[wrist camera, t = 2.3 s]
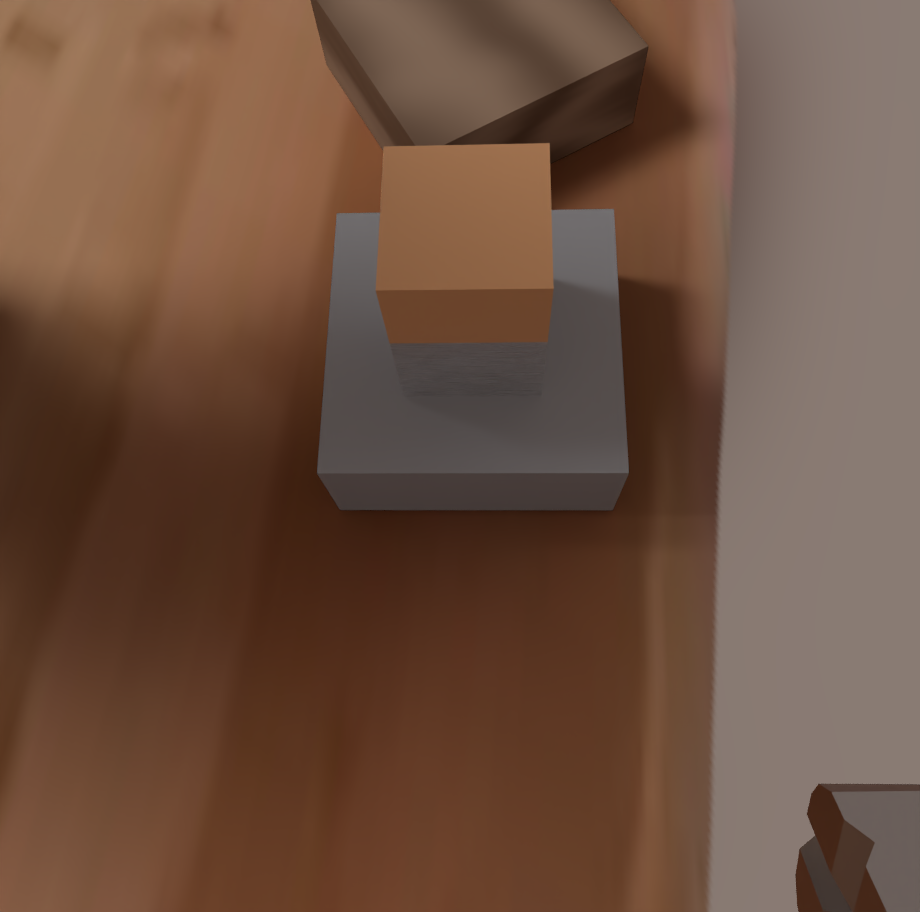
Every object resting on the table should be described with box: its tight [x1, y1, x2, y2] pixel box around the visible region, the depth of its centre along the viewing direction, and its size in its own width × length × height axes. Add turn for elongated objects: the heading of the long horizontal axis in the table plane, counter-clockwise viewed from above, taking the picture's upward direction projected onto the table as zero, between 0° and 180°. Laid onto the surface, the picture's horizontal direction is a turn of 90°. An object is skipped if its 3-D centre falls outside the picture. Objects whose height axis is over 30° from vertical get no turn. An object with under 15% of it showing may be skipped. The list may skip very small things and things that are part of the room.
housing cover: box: [376, 143, 554, 343], centre depth 29 cm, size 6×6×4 cm
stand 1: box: [311, 0, 648, 164], centre depth 43 cm, size 12×12×5 cm
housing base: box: [390, 342, 548, 396], centre depth 32 cm, size 6×6×4 cm
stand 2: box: [317, 209, 629, 510], centre depth 37 cm, size 12×12×5 cm
